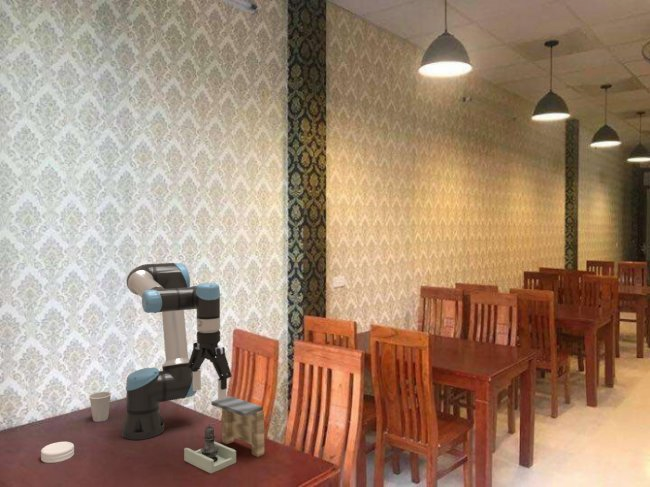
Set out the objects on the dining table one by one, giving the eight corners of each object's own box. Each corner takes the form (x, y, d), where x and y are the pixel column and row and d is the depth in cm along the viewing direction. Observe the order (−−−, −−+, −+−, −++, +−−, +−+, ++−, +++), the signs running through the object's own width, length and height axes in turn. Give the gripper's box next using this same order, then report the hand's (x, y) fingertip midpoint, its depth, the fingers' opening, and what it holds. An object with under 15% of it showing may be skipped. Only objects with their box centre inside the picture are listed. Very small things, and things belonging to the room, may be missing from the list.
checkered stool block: (211, 446, 183) (210, 401, 183) (228, 439, 189) (228, 395, 189) (246, 461, 171) (245, 413, 170) (264, 453, 177) (263, 407, 176)
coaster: (80, 454, 177) (80, 444, 177) (52, 466, 169) (52, 455, 169) (62, 448, 182) (62, 438, 182) (34, 459, 174) (34, 449, 174)
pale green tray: (184, 460, 172) (184, 448, 172) (209, 450, 180) (209, 439, 180) (210, 473, 163) (210, 461, 162) (236, 462, 170) (236, 450, 170)
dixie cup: (84, 421, 208) (84, 397, 207) (99, 414, 216) (99, 390, 215) (102, 423, 205) (101, 398, 205) (116, 416, 213) (115, 392, 213)
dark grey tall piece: (214, 464, 168) (214, 427, 167) (197, 462, 169) (197, 426, 168) (221, 456, 173) (221, 421, 173) (205, 455, 175) (204, 420, 174)
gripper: (176, 327, 175) (177, 389, 176) (223, 337, 159) (223, 405, 160) (195, 324, 181) (196, 384, 182) (242, 333, 165) (242, 399, 165)
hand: (209, 394), depth 171 cm, fingers open, 13 cm apart
